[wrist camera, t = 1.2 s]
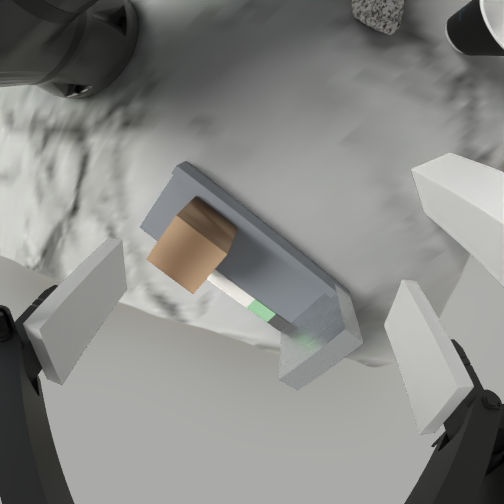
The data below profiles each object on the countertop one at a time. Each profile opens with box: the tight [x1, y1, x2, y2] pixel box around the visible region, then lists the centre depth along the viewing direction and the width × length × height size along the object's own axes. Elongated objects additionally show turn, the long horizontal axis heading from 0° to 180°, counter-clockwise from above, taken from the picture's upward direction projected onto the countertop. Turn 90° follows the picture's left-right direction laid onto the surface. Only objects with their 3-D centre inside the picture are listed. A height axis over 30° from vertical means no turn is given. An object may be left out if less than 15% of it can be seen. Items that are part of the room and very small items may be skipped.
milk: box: [411, 153, 504, 287], centre depth 22 cm, size 6×6×22 cm
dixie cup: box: [445, 0, 504, 56], centre depth 19 cm, size 8×8×11 cm
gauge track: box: [140, 161, 350, 332], centre depth 37 cm, size 26×10×3 cm, turn 51°
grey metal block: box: [279, 284, 364, 390], centre depth 36 cm, size 3×10×9 cm, turn 141°
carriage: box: [147, 196, 238, 294], centre depth 33 cm, size 7×7×7 cm
